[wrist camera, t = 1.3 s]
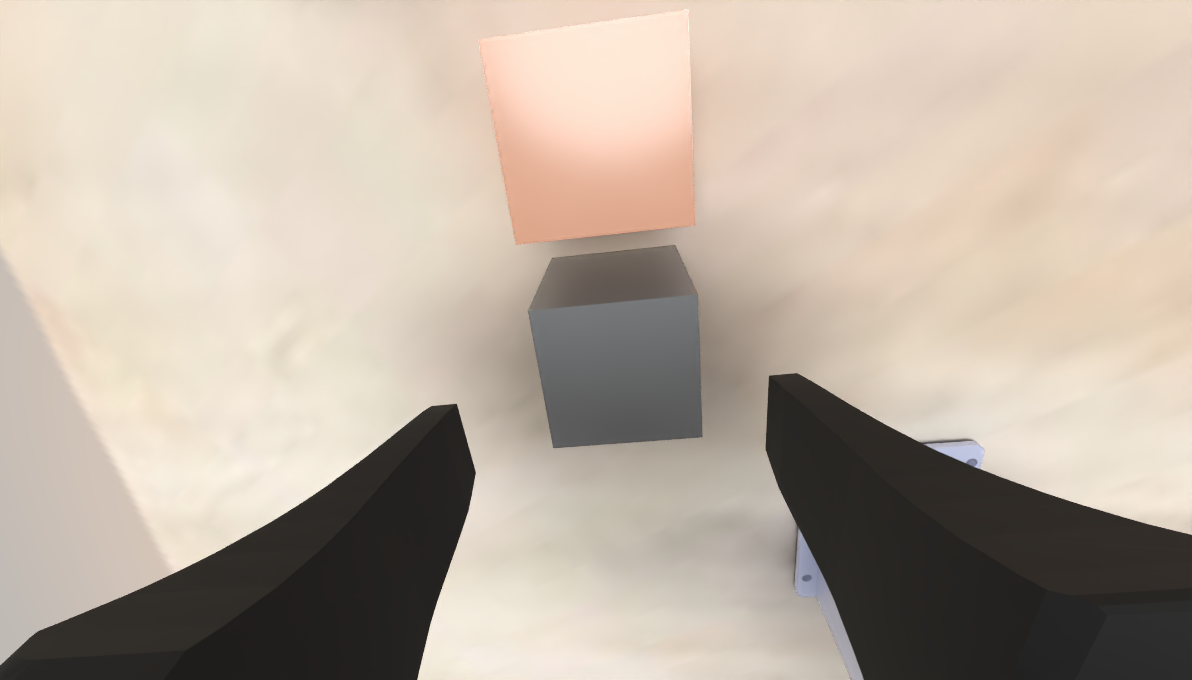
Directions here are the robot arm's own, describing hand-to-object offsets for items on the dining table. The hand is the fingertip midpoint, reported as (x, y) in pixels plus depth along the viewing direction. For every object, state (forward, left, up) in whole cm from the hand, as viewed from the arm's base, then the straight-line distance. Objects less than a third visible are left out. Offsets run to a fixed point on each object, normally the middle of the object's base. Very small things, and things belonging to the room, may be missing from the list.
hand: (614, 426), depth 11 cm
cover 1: (+6, 0, -10) cm, 12 cm away
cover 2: (-1, 0, -10) cm, 10 cm away
